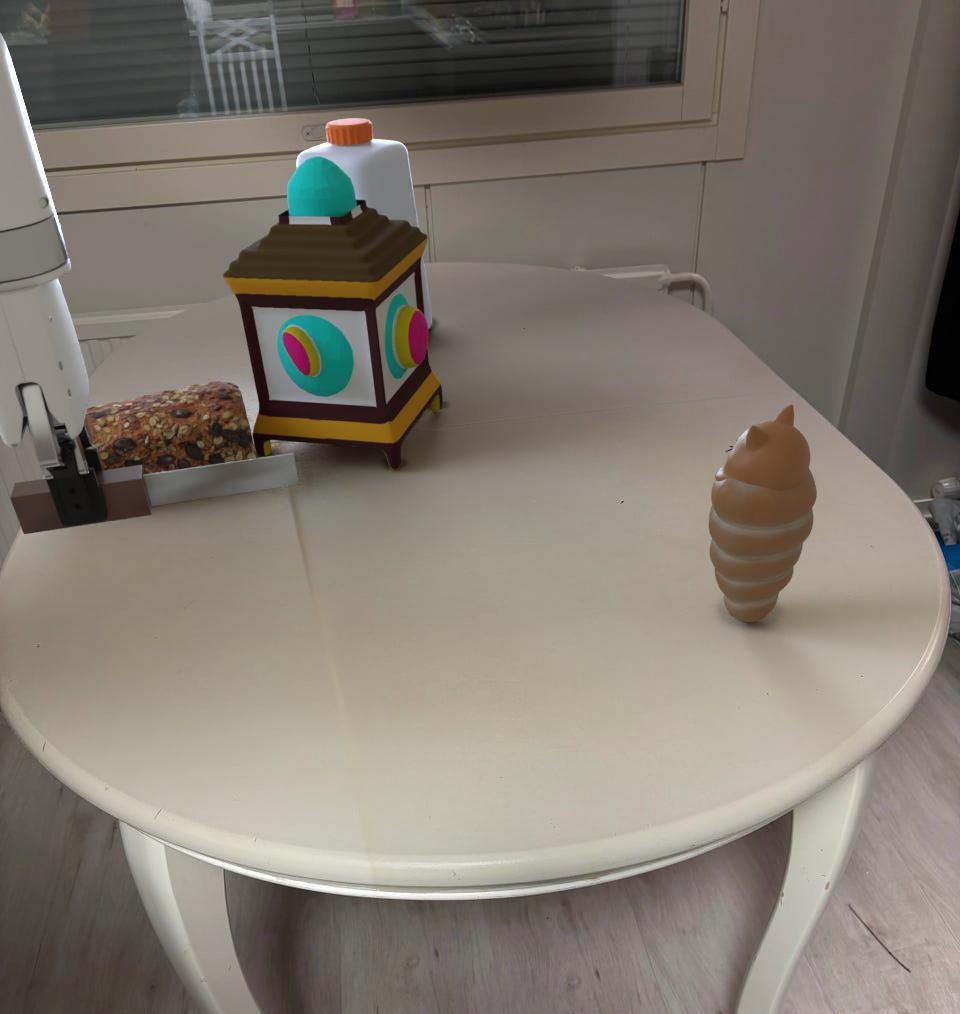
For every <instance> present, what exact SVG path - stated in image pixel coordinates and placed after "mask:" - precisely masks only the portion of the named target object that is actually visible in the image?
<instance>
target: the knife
mask: <svg viewBox="0 0 960 1014" xmlns="http://www.w3.org/2000/svg"><path fill="white" fill-rule="evenodd" d="M295 459H296V458H295V454H294V452H289V453H282V454H276V455H275V454H274V455H267V456H260V457H256V458H254V459H247V460H240V461H233V462H226V463H219V464H212V465H206V466H199V467H192V468H185V469H178V470H171V471H164V472H157V473H150V474H145V472H144V469H143V466H142V465H137V466H130V467H123V468H116V469H109V470H102V471H96V472H95V474H96V477H97V480H98V483H99V486H100V489H101V493H102V496H103V499H104V502H105V505H106V508H107V511H108V516H107V519H106V520H105V521H100V522H93V523H87V524H80V525H74V526H64V525H63V524H62V523H61V521H60V518H59V515H58V512H57V509H56V506H55V504H54V501H53V498H52V495H51V492H50V489H49V487H48V484H47V481H46V478H40V479H33V480H26V481H19V482H15V483H14V484H13V488H12V490H11V493H10V497H9V499H10V501H11V504H12V507H13V510H14V512H15V515H16V517H17V521H18V523H19V525H20V528H21V530H22V533H23V535H29V534H35V533H36V534H37V533H43V532H49V531H57V530H62V529H68V528H75V527H81V526H82V527H83V526H89V525H95V524H101V523H108V522H115V521H121V520H128V519H134V518H141V517H148V516H152V512H153V511H152V510H153V509H152V508H153V507H154V506H155V507H156V506H161V505H168V504H174V503H180V502H188V501H196V500H202V499H208V498H214V497H221V496H228V495H235V494H241V493H249V492H254V491H261V490H268V489H275V488H282V487H287V486H288V487H289V486H293V485H299V484H300V483H299V477H298V471H297V465H296V460H295Z"/></svg>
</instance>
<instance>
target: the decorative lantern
mask: <svg viewBox="0 0 960 1014" xmlns="http://www.w3.org/2000/svg"><path fill="white" fill-rule="evenodd" d="M286 187H287V189H286V199H287V206H288V209H286V210H285V211H283V212H281V213H280V214H278V222H277V223H275V224H274V225H272V226H271V227H270V228H269V231H268V233H267V234H266V235H264V236H263V237H260V238H259V239H258V240H256V241H254V242H253V243H251V244H249V245H248V246H246V247H245V248H243V249H241V250H240V251H239V254H238V256H237V257H236V258H235V259H234V260H232V261H231V262H230V263H229V265H228V269H227V270H225V271H224V272H223V274H222V277H223V280H224V282H225V284H226V285H227V286H228V289H230V291H231V292H232V294H233V295H234V296H235V297H236V299H237V302H238V304H239V311H240V316H241V320H242V325H243V330H244V335H245V340H246V345H247V350H248V351H247V352H248V356H249V360H250V361H249V362H250V365H251V371H252V375H253V380H254V385H255V391H256V395H257V401H258V412H257V415H256V419H255V422H254V425H253V429H252V438H253V443H254V449H255V454H256V455H257V456H258V457H268V456H269V455H270V454H271V453H272V443H271V441H280V442H289V443H290V442H292V443H305V444H318V445H330V446H331V445H332V446H343V447H344V446H345V447H356V448H358V447H359V448H370V449H371V448H372V449H377V450H380V451H382V452H383V453H384V455H385V456H386V461H387V462H388V463H387V465H388V467H389V469H390V470H391V471H397V470H399V469H400V467H401V463H402V446H403V443H404V441H405V439H406V437H407V436H408V435H409V434H410V432H411V431H412V430H413V429H414V427H415V426H416V424H417V423H418V421H419V420H420V419H421V417H422V416H423V415H424V413H425V412H426V411H427V409H428V408H430V410H431V411H432V412H434V413H439V412H440V411H441V410H442V407H443V401H444V400H443V399H444V396H443V387H442V384H441V382H440V379H439V378H438V377H437V374H436V373H435V371H434V370H433V368H432V367H431V364H430V361H429V350H428V346H429V340H430V339H429V329H428V324H427V320H426V318H425V313H424V301H423V289H422V277H421V258H422V255H423V256H424V251H425V249H426V247H427V244H428V243H427V242H428V234H427V233H425V232H422V231H421V229H420V227H419V228H418V227H415V226H411V225H410V224H409V222H408V221H406V220H396V219H388V217H387V216H385V215H380V214H378V212H377V210H376V209H374V208H368V207H367V205H366V200H356V198H355V191H354V187H353V184H352V181H351V179H350V177H349V176H348V175H347V174H346V173H345V172H344V171H343V170H342V169H341V168H340V167H339V166H338V165H336V164H335V163H334V162H332V161H330V160H328V159H326V158H324V157H320V156H317V157H311V158H309V159H307V160H305V161H304V162H303V163H302V164H301V165H300V166H299V167H298V168H297V167H296V169H295V171H294V173H293V174H292V176H291V178H290V179H289V180H288V182H287V186H286Z"/></svg>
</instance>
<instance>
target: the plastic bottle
mask: <svg viewBox="0 0 960 1014" xmlns="http://www.w3.org/2000/svg"><path fill="white" fill-rule="evenodd" d="M324 127H325V128H324V129H325V135H326V141H327V142H324V143H321V144H318V145H315V146H312V147H310V148H308V149H305V150H303V151H301V152H300V153H299V154H298V155H297V157H296V161H295V164H296V169H297V168H298V167H299V166H300V165H301V164H302V163H303V162H304V161H305V160H307V159H309V158H311V157H317V156H320V157H324V158H326V159H328V160H330V161H332V162H334V163H335V164H336V165H338V166H339V167H340V168H341V169H342V170H343V171H344V172H345V173H346V174H347V175H348V176H349V177H350V179H351V181H352V184H353V187H354V191H355V198H356V200H366V205H367V207H368V208H374V209H376V210H377V212H378V214H380V215H385V216H387V217H388V219H396V220H406V221H408V222H409V224H410V225H411V226H415V227H418V228H419V229H420V225H419V219H418V218H419V217H418V212H417V206H416V205H417V204H416V199H415V191H414V184H413V178H412V172H411V165H410V159H409V158H410V157H409V151H408V148H407V147H406V145H404V144H403V143H402V142H400V141H397V140H391V139H379V138H374V129H373V122H371V120H370V119H368V118H362V117H350V118H349V117H348V118H339V119H335V120H331V121H329V122H328V121H327V123H326V125H325V126H324ZM426 272H427V271H426V266H425V259H424V254H423V255H422V258H421V277H422V289H423V301H424V313H425V318H426V320H427V324H428V330H429V329H430V328H431V327H432V324H433V314H432V313H433V312H432V307H431V306H432V305H431V300H430V294H429V293H430V292H429V287H428V279H427V273H426Z"/></svg>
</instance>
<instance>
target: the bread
mask: <svg viewBox="0 0 960 1014" xmlns="http://www.w3.org/2000/svg"><path fill="white" fill-rule="evenodd" d="M246 410H247V409H246V406H245V401H244V397H243V394H242V391H241V390H240V387H239V386H238V385H237V384H235V383H232V382H227V381H226V382H225V381H220V380H219V381H210V382H205V383H202V384H196V383H195V384H192V385H189V386H185V387H182V388H178V389H165V390H162V391H157V392H154V393H152V394H144V395H143V396H137V397H136V398H134V399H133V398H132V399H131V398H130V399H123V400H119V401H114V402H108V403H106V404H101V405H96V406H92V407H87V412H86V419H87V422H88V425H89V428H90V431H91V434H92V438H93V443H94V447H90V448H87V449H94V448H97V450H98V454H99V457H100V460H101V463H102V467H103V470H109V469H116V468H123V467H130V466H137V465H142V466H143V469H144V472H145V474H150V473H157V472H164V471H171V470H178V469H185V468H192V467H199V466H206V465H212V464H219V463H226V462H233V461H240V460H247V459H254V458H257V456H256V455H257V454H256V450H255V446H254V441H253V431H252V430H251V429H252V428H251V426H250V422H249V418H248V413H247V411H246Z"/></svg>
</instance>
